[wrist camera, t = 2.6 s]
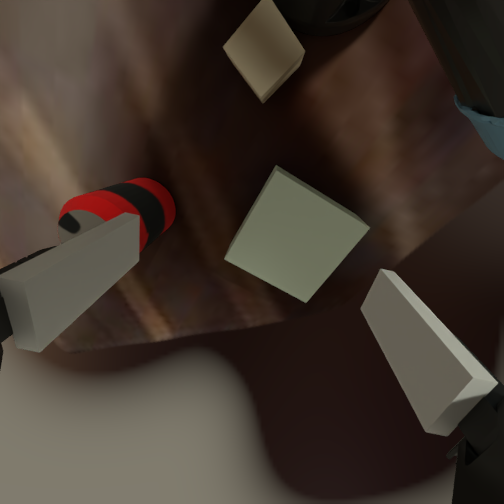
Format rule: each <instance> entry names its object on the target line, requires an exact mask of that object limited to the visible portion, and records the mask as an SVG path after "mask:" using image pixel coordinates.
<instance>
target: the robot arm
mask: <svg viewBox="0 0 504 504" xmlns="http://www.w3.org/2000/svg"><path fill="white" fill-rule="evenodd" d="M272 1H273V2H274V4H275V5H276V7H277V8H278V10H279V12H280V13H281V15H282V16H283V18H284V19H285V21H286V22H287V24H288V25H289V26H290V27H291V28H293V29H295V30H297V31H299V32H302V33H305V34H309V35H315V36H329V35H335V34H339V33H343V32H346V31H348V30H351V29H353V28H355V27H357V26H359V25H360V24H362V23H363V22H365V21H367V20H368V19H369V18H371V17H372V16H373V15H374V14H375V13H377V12H378V11H379V10H380V9H381V8H382V7H383V6H384V5H385V4H386V3H387V2H388V1H389V0H272ZM408 1H409V3H410V5H411V7H412V9H413V11H414V13H415V15H416V17H417V19H418V21H419V23H420V25H421V27H422V29H423V31H424V33H425V35H426V37H427V38H428V40H429V42H430V44H431V46H432V48H433V50H434V52H435V54H436V56H437V58H438V60H439V62H440V64H441V66H442V68H443V70H444V72H445V74H446V76H447V78H448V79H449V81H450V83H451V85H452V87H453V89H454V91H455V93H456V94H455V96H454V100H455V104H456V106H457V107H458V109H459V110H460V112H462V113H463V114H464V115H465V116H467V117H469V119H470V121H471V122H472V124H473V125H474V127H475V129H476V130H477V132H478V133H479V135H480V137H481V138H482V140H483V141H484V143H485V145H486V146H487V147H488V149H489V150H490V151H491V152H493V153H494V154H495V155H496V156H498V157H500V158H502V159H503V160H504V0H408ZM139 226H140V216H139V215H135V214H130V213H126V212H125V213H123V214H121V215H119V216H117V217H115V218H113V219H111V220H109V221H107V222H105V223H103V224H101V225H99V226H97V227H95V228H93V229H91V230H89V231H87V232H85V233H83V234H81V235H79V236H77V237H75V238H73V239H71V240H69V241H67V242H65V243H63V244H61V245H59V246H54V247H50V248H46V249H42V250H39V251H37V252H35V253H33V254H31V255H29V256H28V257H24V258H22V259H20V260H18V261H17V263H15V262H14V263H12V264H10V265H8V266H6V267H4V268H1V269H0V369H1V362H2V355H3V348H2V345H1V342H3V341H4V340H5V339H7V338H8V337H9V336H11V335H12V334H13V338H14V341H15V345H16V348H20V349H25V350H29V351H34V352H41V351H42V350H43V349H44V348H45V347H46V346H47V345H49V344H50V343H51V342H52V341H53V340H54V339H55V338H56V337H57V336H58V335H59V334H61V333H62V332H63V331H64V330H65V329H66V328H67V327H68V326H69V325H70V324H71V323H72V322H74V321H75V320H76V319H77V318H78V317H79V316H80V315H81V314H82V313H83V312H84V311H85V310H87V309H88V308H89V307H90V306H91V305H92V304H93V303H94V302H95V301H96V300H97V299H99V298H100V297H101V296H102V295H103V294H104V293H105V292H106V291H107V290H108V289H109V288H110V287H112V286H113V285H114V284H115V283H116V282H117V281H118V280H119V279H120V278H121V277H122V276H123V275H125V274H126V273H127V272H128V271H129V270H130V269H131V268H132V267H133V266H134V265H135V264H136V263H138V262H139ZM361 311H362V313H363V315H364V317H365V318H366V320H367V322H368V324H369V326H370V328H371V330H372V331H373V333H374V335H375V337H376V339H377V341H378V343H379V345H380V347H381V349H382V351H383V352H384V354H385V356H386V358H387V360H388V362H389V364H390V366H391V368H392V369H393V371H394V373H395V375H396V377H397V379H398V381H399V383H400V385H401V386H402V388H403V390H404V392H405V394H406V396H407V398H408V400H409V402H410V403H411V405H412V407H413V409H414V411H415V413H416V415H417V416H418V418H419V420H420V422H421V424H422V426H423V428H424V430H425V432H429V433H434V434H438V435H443V436H448V435H449V434H450V433H451V432H452V431H453V430H454V429H455V428H456V426H459V428H460V429H461V431H462V432H463V434H464V435H465V437H464V438H463V439H462V440H461V441H460V442H459V443H458V444H457V445H456V446H455V447H454V448H453V449H451V450H450V451H449V452H448V454H447V456H446V457H447V458H449V459H451V458H452V457H453V456H457V463H456V472H455V480H454V489H453V498H452V504H504V385H503V384H502V383H501V382H500V381H499V380H498V379H497V378H496V377H495V376H494V375H493V374H492V373H491V372H490V370H489V369H488V368H487V367H486V366H485V365H484V364H483V363H482V362H481V361H478V358H477V357H476V356H475V355H474V354H473V353H472V352H470V349H469V348H468V347H467V346H466V345H465V344H464V343H463V342H462V341H461V340H460V339H459V338H458V337H456V336H455V335H454V334H452V333H451V332H450V331H449V330H448V329H447V328H446V327H445V326H444V324H443V323H442V322H441V321H440V320H439V319H438V318H437V317H436V316H435V315H434V314H433V313H432V312H431V311H430V309H429V308H428V307H426V305H425V304H424V303H423V302H422V301H421V300H420V299H419V298H418V297H417V296H416V295H415V293H414V292H413V291H412V290H411V289H410V288H409V287H408V286H407V285H406V284H405V283H404V282H403V281H402V279H401V278H400V277H399V276H398V275H397V274H396V273H395V272H393V271H389V270H384V269H380V271H379V273H378V275H377V277H376V279H375V281H374V283H373V285H372V287H371V289H370V291H369V293H368V295H367V297H366V299H365V301H364V303H363V305H362V307H361Z"/></svg>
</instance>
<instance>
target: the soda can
mask: <svg viewBox="0 0 504 504" xmlns="http://www.w3.org/2000/svg"><path fill="white" fill-rule="evenodd" d="M125 212H126V213H130V214H135V215H139V216H140V226H139V253H140V252H141V251H143V250H144V249H145V248H146V247H147V246H148V245H149V244H151V243H152V242H153V241H154V240H155V239H156V238H158V237H159V236H160V235H161V234H162V233H163V232H165V231H166V230H167V229H168V228H169V227H170V226H171V225H172V223H173V221H174V219H175V214H176V208H175V203H174V201H173V198H172V196H171V195H170V193H169V192H168V190H167V189H166V188H165V187H164V186H162V185H161V184H160V183H158V182H157V181H155V180H152V179H149V178H136V179H133V180H129V181H126V182H123V183H119V184H116V185H113V186H110V187H106V188H103V189H100V190H96V191H93V192H90V193H87V194H83V195H80V196H77V197H74V198H72V199H70V200H69V201H68V202H67V203H66V204H65V205H64V206H63V208H62V210H61V212H60V217H59V222H58V236H59V239H60V242H61V244H63V243H65V242H67V241H69V240H71V239H73V238H75V237H77V236H79V235H81V234H83V233H85V232H87V231H89V230H91V229H93V228H95V227H97V226H99V225H101V224H103V223H105V222H107V221H109V220H111V219H113V218H115V217H117V216H119V215H121V214H123V213H125Z"/></svg>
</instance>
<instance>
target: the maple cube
mask: <svg viewBox="0 0 504 504" xmlns="http://www.w3.org/2000/svg"><path fill="white" fill-rule="evenodd" d="M223 48H224V50H225V52H226V53H227V55H228V57H229V59H230V60H231V62H232V63H233V65H234V66H235V67H236V69H237V70H238V71H239V73H240V74H241V75H242V77H243V78H244V79H245V81H246V82H247V83H248V85H249V86H250V87H251V89H252V90H253V91H254V93H255V94H256V95H257V97H258V98H259V99H260V101H261V102H262V103H264V102H265V101H266V100H267V99H268V98H269V97H270V96H271V95H272V94H273V93H274V92H275V91H276V90H277V89H278V88H279V87H280V86H281V85H282V84H283V83H284V82H285V81H286V80H287V79H288V78H289V77H290V76H291V75H292V74H293V73H294V72H295V71H296V70H297V69H298V68H299V67H300V64H301V62H302V59H303V56H304V53H305V50H304V48H303V47H302V45H301V44H300V42H299V41H298V39H297V38H296V36H295V35H294V33H293V31H292V30H291V28H290V27H289V25H288V24H287V22H286V21H285V19H284V18H283V16H282V15H281V13H280V12H279V10H278V8H277V7H276V5H275V4H274V2H273V1H272V0H261V1H260V2H259V4H258V5H257V6H256V7H255V8H254V10H253V11H252V12H251V13H250V15H249V16H248V17H247V18H246V19H245V21H244V22H243V23H242V24H241V26H240V27H239V28H238V29H237V30H236V32H235V33H234V34H233V35H232V36H231V38H230V39H229V40H228V41H227V43H226V44H225V45H224V46H223Z"/></svg>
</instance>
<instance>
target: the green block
mask: <svg viewBox="0 0 504 504" xmlns="http://www.w3.org/2000/svg"><path fill="white" fill-rule="evenodd" d="M369 229H370V227H369V226H368V225H367V224H366V223H365V222H363V221H362V220H361V219H360V218H359V217H358V216H357V215H356V214H355V213H353V212H351V211H350V210H348V209H346V208H345V207H343V206H342V205H340V204H338V203H337V202H335V201H334V200H332V199H330V198H329V197H327V196H325V195H324V194H322V193H321V192H319V191H317V190H316V189H314V188H313V187H311V186H309V185H308V184H306V183H304V182H303V181H301V180H300V179H298V178H296V177H295V176H293V175H291V174H290V173H288V172H287V171H285V170H283V169H282V168H280V167H279V166H277V165H276V166H275V168H274V169H273V171H272V173H271V175H270V176H269V178H268V180H267V181H266V183H265V185H264V187H263V188H262V190H261V192H260V194H259V195H258V197H257V199H256V200H255V202H254V204H253V206H252V207H251V209H250V211H249V212H248V214H247V216H246V218H245V219H244V221H243V223H242V225H241V226H240V228H239V230H238V231H237V233H236V235H235V237H234V238H233V240H232V242H231V244H230V246H229V249H228V251H227V253H226V256H225V258H224V259H225V260H226V261H228V262H230V263H232V264H234V265H236V266H238V267H240V268H241V269H243V270H245V271H247V272H249V273H251V274H253V275H255V276H256V277H258V278H260V279H262V280H264V281H266V282H268V283H270V284H271V285H273V286H275V287H277V288H279V289H281V290H283V291H285V292H286V293H288V294H290V295H292V296H294V297H296V298H298V299H300V300H301V301H303V302H305V303H307V301H308V300H309V299H310V298H311V297H312V296H313V294H314V293H315V292H316V291H317V290H318V289H319V287H320V286H321V285H322V284H323V283H324V281H325V280H326V279H327V278H328V277H329V276H330V274H331V273H332V272H333V271H334V270H335V269H336V267H337V266H338V265H339V264H340V263H341V262H342V260H343V259H344V258H345V257H346V256H347V254H348V253H349V252H350V251H351V250H352V249H353V247H354V246H355V245H356V244H357V243H358V242H359V240H360V239H361V238H362V237H363V236H364V235H365V233H366V232H367V231H368V230H369Z"/></svg>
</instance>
